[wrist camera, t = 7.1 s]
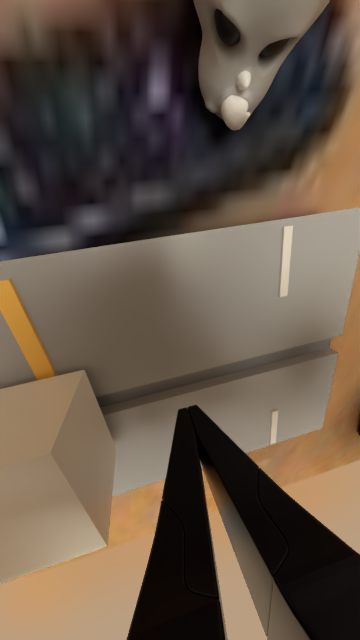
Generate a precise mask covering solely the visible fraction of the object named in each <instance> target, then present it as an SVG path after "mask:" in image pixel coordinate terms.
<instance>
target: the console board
mask: <svg viewBox="0 0 360 640" xmlns="http://www.w3.org/2000/svg"><path fill="white" fill-rule="evenodd" d="M359 252H360V208H353V209H347V210H340V211H333V212H327V213H320V214H313V215H307V216H300V217H293V218H287V219H280V220H273V221H267V222H260V223H253V224H247V225H240V226H233V227H227V228H220V229H213V230H207V231H200V232H193V233H187V234H180V235H173V236H167V237H160V238H153V239H147V240H140V241H133V242H127V243H120V244H113V245H107V246H100V247H93V248H87V249H80V250H73V251H67V252H60V253H53V254H47V255H40V256H33V257H27V258H20V259H13V260H7V261H0V389H3V388H7V387H12V386H16V385H20V384H24V383H29V382H33V381H37V380H42V379H46V378H50V377H55V376H59V375H63V374H68V373H72V372H76V371H81V370H85V372H86V375H87V377H88V380H89V382H90V385H91V387H92V390H93V392H94V394H95V397H96V399H97V402H98V404H99V407H100V409H101V412H102V414H103V417H104V419H105V422H106V424H107V427H108V429H109V432H110V434H111V436H112V439H113V441H114V444H115V446H116V449H117V451H116V461H115V472H114V482H113V493H112V496H115V495H118V494H121V493H124V492H128V491H131V490H134V489H137V488H140V487H143V486H146V485H149V484H152V483H155V482H159V481H162V480H165V479H166V474H167V468H168V462H169V457H170V451H171V446H172V440H173V435H174V429H175V424H176V418H177V412H178V410H179V409H181V408H185V407H187V408H188V407H189V406H192V405H197V406H199V407H200V408H201V409H202V410H203V411H204V412H205V413H206V414H207V415H208V416H209V417H210V418H211V419H212V420H213V421H214V422H215V423H216V424H217V425H218V426H219V427H220V428H221V429H222V430H223V431H224V432H225V433H226V434H227V435H228V436H229V437H230V438H231V439H232V440H233V441H234V442H235V443H236V444H237V445H238V446H239V447H240V448H241V449H242V450H243V451H244V452H245V453H248V452H251V451H254V450H258V449H261V448H264V447H267V446H270V445H273V444H276V443H279V442H282V441H285V440H288V439H292V438H295V437H298V436H301V435H304V434H307V433H310V432H313V431H316V430H319V429H322V428H323V423H324V418H325V413H326V409H327V404H328V399H329V394H330V390H331V385H332V380H333V375H334V371H335V366H336V361H337V356H338V353H337V352H335V351H333V350H332V349H330V348H329V346H330V340H331V338H333V337H336V336H340V335H342V333H343V328H344V323H345V318H346V314H347V309H348V304H349V299H350V295H351V290H352V285H353V280H354V276H355V271H356V266H357V261H358V257H359ZM200 463H201V462H200ZM201 468H202V465H201Z"/></svg>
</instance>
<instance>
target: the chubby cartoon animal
mask: <svg viewBox="0 0 360 640" xmlns="http://www.w3.org/2000/svg"><path fill="white" fill-rule="evenodd" d="M193 1H194V5H195V8H196V11H197V14H198V17H199V20H200V24H201V28H202V43H201V49H200V56H199V68H198V74H199V85H200V90H201V93H202V96H203V98H204V101H205V106H206V108H207V109H208V110H209V111H210V112H212V113H215V114H216V115H217V116H218V117H219V118H221V119H223V120H224V122H225V124H226V125H227V126H228V127H229V128H230V129H231V130H239V129H240V128H241V127H242V126H243V125H244V124H245V122H246V121H247V119H248V117H249V116H250V115H251V114H252V112H253V111H254V109H255V108H256V107H257V106H258V104H259V103H260V102H261V100H262V99H263V97H264V96H265V94H266V92H267V91H268V89H269V87H270V85H271V83H272V81H273V79H274V77H275V75H276V73H277V71H278V69H279V68H280V66H281V64H282V63H283V61H284V60H285V58H286V57H287V55H288V54H289V53H290V51H291V50H292V48H293V47H294V46H295V44H296V43H297V42H298V41H299V40H300V38H301V37H302V36H303V35H304V34H305V33H306V31H307V30H308V29H309V28H310V26H311V25H312V24H313V23H314V21H315V20H316V19H317V18H318V16H319V15H320V14H321V13H322V11H323V10H324V8H325V7H326V6H327V4H328V3H329V1H330V0H193Z"/></svg>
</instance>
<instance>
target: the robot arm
mask: <svg viewBox="0 0 360 640" xmlns="http://www.w3.org/2000/svg"><path fill="white" fill-rule="evenodd" d="M358 434H359V435H360V429H359V433H358ZM200 462H201V463H200ZM201 465H202V468H203V471H204V473H205V476H206V478H207V481H208V484H209V486H210V489H211V492H212V494H213V497H214V500H215V502H216V505H217V507H218V510H219V513H220V515H221V518H222V521H223V523H224V526H225V528H226V531H227V533H228V536H229V539H230V542H231V544H232V547H233V550H234V552H235V555H236V557H237V560H238V563H239V565H240V568H241V571H242V573H243V576H244V579H245V581H246V584H247V587H248V589H249V592H250V594H251V597H252V599H253V602H254V605H255V608H256V610H257V613H258V616H259V618H260V621H261V623H262V626H263V629H264V631H265V634H266V636H267V637H268V638H267V639H268V640H360V554H358V553H357V552H356V551H354V550H353V549H352V548H351V547H349V546H348V545H347V544H346V543H345V542H344V541H342V540H341V539H340V538H339V537H338V536H336V535H335V534H334V533H333V532H332V531H330V530H329V529H328V528H327V527H326V526H324V525H323V524H322V523H321V522H320V521H318V520H317V519H316V518H315V517H314V516H312V515H311V514H310V513H309V512H308V511H306V510H305V509H304V508H303V507H302V506H300V505H299V504H298V503H297V502H295V500H293V499H292V498H291V497H290V496H289V495H288V494H287V493H286V492H284V491H283V490H282V489H281V488H280V487H279V486H278V485H277V484H276V483H275V482H274V481H273V480H272V479H271V478H270V477H269V476H268V475H267V474H266V473H265V472H264V471H263V470H262V469H261V468H259V467H258V465H257V464H256V463H255V462H254V461H253V460H252V459H251V458H250V457H249V456H248V455H247V454H246V453H245V452H244V451H243V450H242V449H241V448H240V447H239V446H238V445H237V444H236V443H235V442H234V441H233V440H232V439H231V438H230V437H229V436H228V435H227V434H226V433H225V432H224V431H223V430H222V429H221V428H220V427H219V426H218V425H217V424H216V423H215V422H214V421H213V420H212V419H211V418H210V417H209V416H208V415H207V414H206V413H205V412H204V411H203V410H202V409H201V408H200V407H199V406H197V405H192V406H189V407H188V408H187V407H185V408H181V409H179V410H178V412H177V418H176V424H175V429H174V435H173V440H172V446H171V451H170V457H169V462H168V468H167V474H166V479H165V485H164V490H163V496H162V501H161V506H160V512H159V517H158V522H157V527H156V531H155V537H154V541H153V544H152V548H151V553H150V556H149V560H148V564H147V568H146V571H145V575H144V579H143V582H142V586H141V590H140V593H139V597H138V600H137V604H136V608H135V611H134V615H133V619H132V622H131V626H130V629H129V633H128V637H127V640H228V639H227V633H226V627H225V620H224V614H223V607H222V600H221V594H220V587H219V581H218V575H217V567H216V561H215V555H214V548H213V541H212V535H211V528H210V522H209V515H208V508H207V502H206V495H205V489H204V482H203V476H202V469H201Z"/></svg>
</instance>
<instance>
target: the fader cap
mask: <svg viewBox="0 0 360 640" xmlns="http://www.w3.org/2000/svg"><path fill="white" fill-rule="evenodd" d="M116 451H117V449H116V446H115V444H114V441H113V439H112V436H111V434H110V432H109V429H108V427H107V424H106V422H105V419H104V417H103V414H102V412H101V409H100V407H99V404H98V402H97V399H96V397H95V394H94V392H93V390H92V387H91V385H90V382H89V380H88V377H87V375H86V372H85V370H81V371H76V372H72V373H68V374H63V375H59V376H55V377H50V378H46V379H42V380H37V381H33V382H29V383H24V384H20V385H16V386H12V387H7V388H3V389H0V584H3V583H6V582H8V581H11V580H14V579H17V578H20V577H22V576H25V575H28V574H31V573H34V572H37V571H39V570H42V569H45V568H48V567H51V566H53V565H56V564H59V563H62V562H65V561H67V560H70V559H73V558H76V557H79V556H81V555H84V554H87V553H90V552H93V551H95V550H98V549H101V548H104V547H107V546H108V535H109V525H110V514H111V504H112V493H113V482H114V472H115V461H116Z"/></svg>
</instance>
